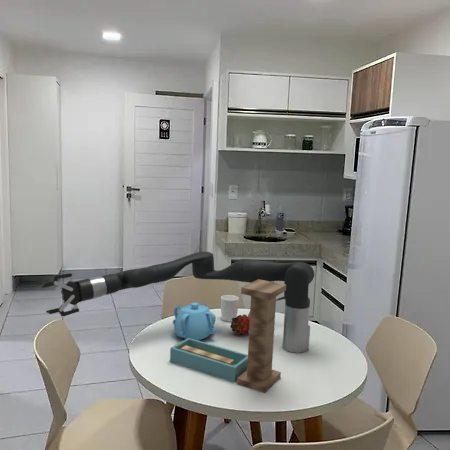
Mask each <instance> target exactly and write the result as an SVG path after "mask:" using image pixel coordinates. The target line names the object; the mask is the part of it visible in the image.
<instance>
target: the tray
mask: <svg viewBox="0 0 450 450" xmlns="http://www.w3.org/2000/svg"><path fill="white" fill-rule="evenodd" d="M184 346H190V347H193V348H196V349H199V350H203V351H206V352H209V353H213V354H216V355H219V356H223V357H226V358H229V359H233V360H234V366H233V365H229V364H226V363H223V362H220V361H216V360H213V359H210V358H206V357H203V356H200V355H197V354H193V353H190V352H187V351H183V350H181V348H182V347H184ZM169 350H170V351H169V352H170V353H169V354H170V355H169V362H171V363H173V364H176V365H179V366H183V367H185V368H186V367H187V368H189V369H193V370H194V371H197V372H202V373H203V374H207V375H210V376H212V377H216V378H219V379H223V380H226V381H229V382H232V383H237V378H238V377H239V376H240V375H241V374H243V373H244V372H245V371H246V370H247V364H248V353H243V352H239V351H237V350H232V349H229V348H226V347H222V346H219V345H215V344H212V343H209V342H204V341H201V340H200V341H198V340H194V339H191V338H187V339H185V338H184V340H182V341H180V342H179V343H177V344H175V345H173V346H172V347H170V349H169Z"/></svg>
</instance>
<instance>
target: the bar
mask: <svg viewBox="0 0 450 450" xmlns="http://www.w3.org/2000/svg"><path fill="white" fill-rule="evenodd" d="M181 350H183V351H187V352H190V353H193V354H197V355H200V356H203V357H206V358H210V359H213V360H216V361H220V362H223V363H226V364H229V365H233V366H234V360H233V359H229V358H226V357H223V356H219V355H216V354H213V353H209V352H206V351H203V350H199V349H196V348H193V347H190V346H184V347H182V348H181Z"/></svg>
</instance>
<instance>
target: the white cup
mask: <svg viewBox="0 0 450 450" xmlns="http://www.w3.org/2000/svg"><path fill="white" fill-rule="evenodd" d="M239 299H240V297H238V296H237V295H233V294H224V295H221V296H220V313H221V314H220V315H221V320H222V321H224V322H230V323H232V318H236V317H237V316H238V311H239V310H238V309H239V301H240V300H239Z"/></svg>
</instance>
